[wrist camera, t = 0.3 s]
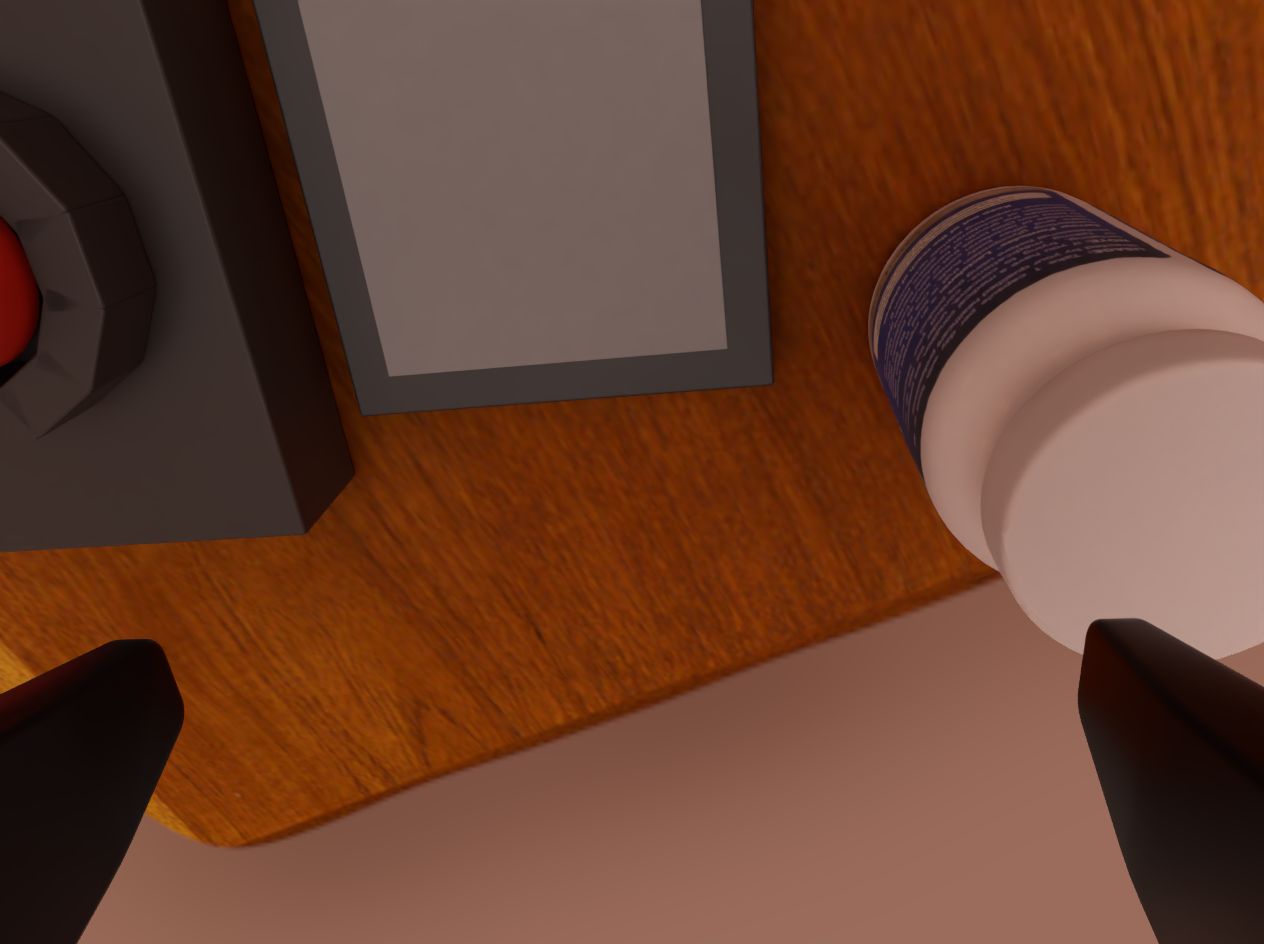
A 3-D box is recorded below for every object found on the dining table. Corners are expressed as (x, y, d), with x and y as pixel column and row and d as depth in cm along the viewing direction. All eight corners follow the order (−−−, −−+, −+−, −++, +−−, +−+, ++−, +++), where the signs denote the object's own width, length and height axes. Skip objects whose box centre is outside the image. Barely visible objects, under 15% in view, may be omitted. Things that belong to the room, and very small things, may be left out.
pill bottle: (833, 399, 22) (900, 652, 13) (911, 154, 20) (1061, 265, 11) (1066, 451, 22) (1292, 740, 13) (1175, 213, 20) (1545, 373, 11)
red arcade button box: (356, 475, 24) (272, 577, 20) (17, 498, 26) (-133, 598, 21) (216, -40, 19) (60, -58, 15) (-197, 24, 21) (-454, 24, 16)
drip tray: (773, 371, 22) (775, 387, 21) (374, 402, 23) (359, 418, 22) (745, -120, 18) (746, -128, 17) (260, -46, 19) (235, -50, 18)
